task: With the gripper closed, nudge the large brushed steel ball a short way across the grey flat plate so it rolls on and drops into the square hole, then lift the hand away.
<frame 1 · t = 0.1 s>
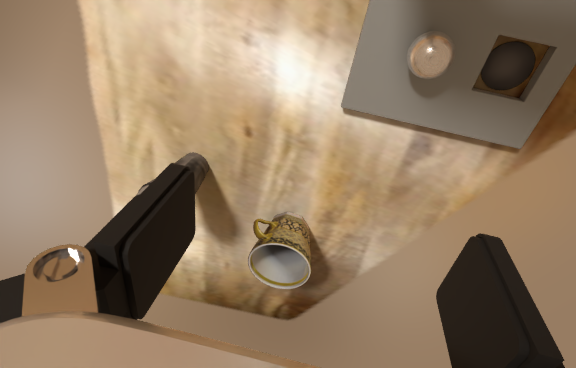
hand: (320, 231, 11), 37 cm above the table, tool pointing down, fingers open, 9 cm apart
grey flat plate: (457, 55, 40), on the table
ceramic cup: (286, 219, 59), on the table
ball: (430, 55, 37), point 4 cm above the table, touching grey flat plate
beverage cup: (196, 163, 56), on the table
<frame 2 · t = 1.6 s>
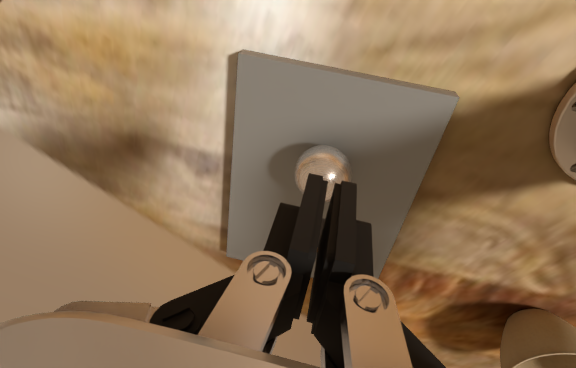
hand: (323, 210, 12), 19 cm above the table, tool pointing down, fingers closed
grey flat plate: (318, 186, 34), on the table
flower pot: (530, 320, 39), on the table
ball: (322, 173, 29), point 4 cm above the table, touching grey flat plate
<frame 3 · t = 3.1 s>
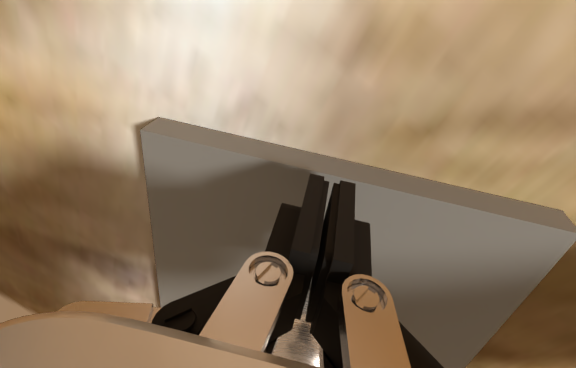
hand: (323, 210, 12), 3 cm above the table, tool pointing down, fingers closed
grey flat plate: (302, 320, 21), on the table
ball: (302, 344, 16), point 4 cm above the table, touching grey flat plate
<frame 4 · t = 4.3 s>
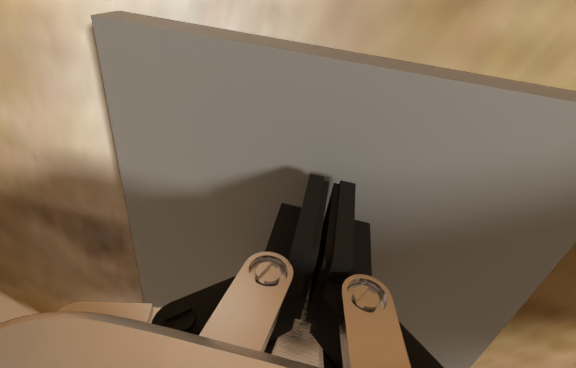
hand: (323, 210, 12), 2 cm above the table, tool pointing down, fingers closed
grey flat plate: (306, 282, 18), on the table
ball: (296, 316, 13), point 4 cm above the table, tilted 31°, touching grey flat plate
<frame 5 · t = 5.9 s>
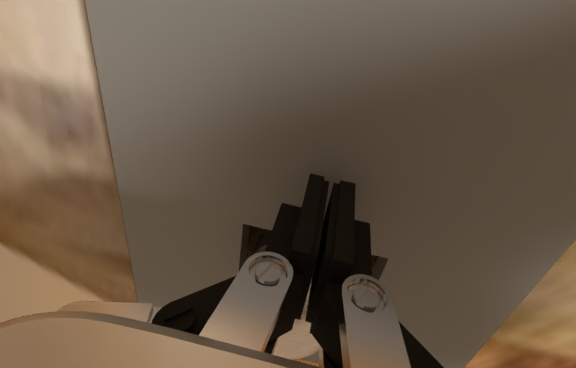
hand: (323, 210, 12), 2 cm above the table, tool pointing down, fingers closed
grey flat plate: (331, 168, 14), on the table
ball: (289, 296, 15), point 3 cm above the table, tilted 136°, touching grey flat plate
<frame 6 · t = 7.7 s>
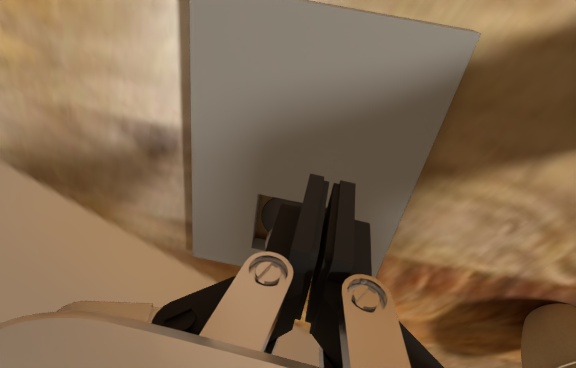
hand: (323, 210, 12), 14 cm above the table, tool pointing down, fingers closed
grey flat plate: (301, 164, 28), on the table
flower pot: (551, 316, 34), on the table
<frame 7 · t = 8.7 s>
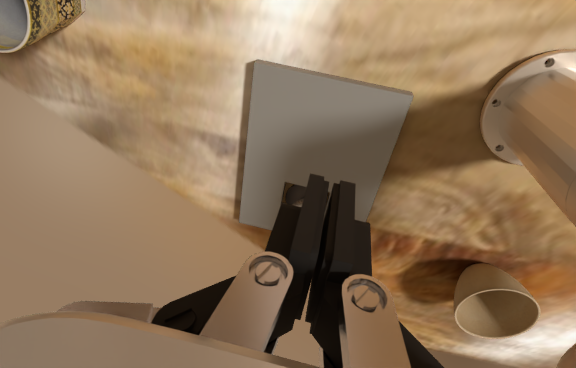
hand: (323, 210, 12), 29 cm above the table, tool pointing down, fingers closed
grey flat plate: (312, 164, 45), on the table
flower pot: (479, 273, 50), on the table
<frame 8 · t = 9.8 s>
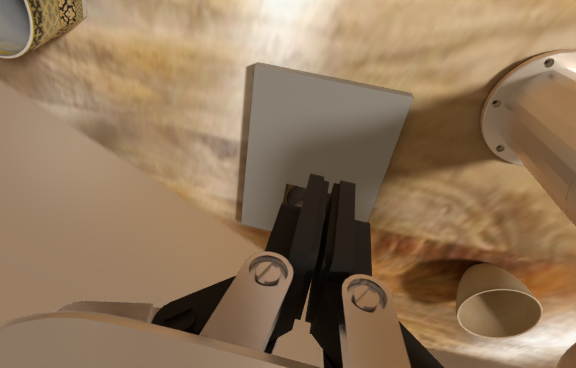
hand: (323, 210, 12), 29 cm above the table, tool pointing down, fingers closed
grey flat plate: (314, 166, 45), on the table
flower pot: (481, 273, 50), on the table
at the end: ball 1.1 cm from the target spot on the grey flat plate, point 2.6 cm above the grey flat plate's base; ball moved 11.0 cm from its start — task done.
